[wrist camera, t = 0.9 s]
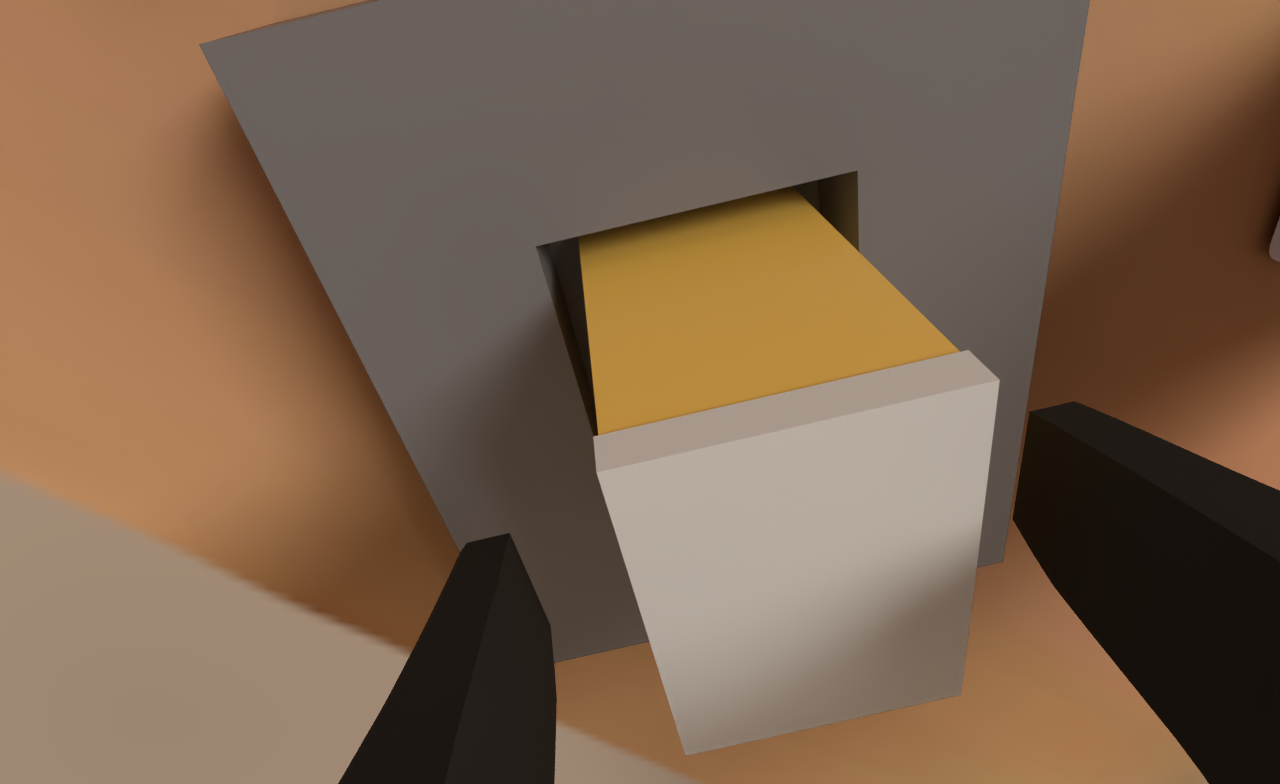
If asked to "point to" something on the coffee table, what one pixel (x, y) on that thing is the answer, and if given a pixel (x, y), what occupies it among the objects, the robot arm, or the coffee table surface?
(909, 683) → the block
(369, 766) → the robot arm
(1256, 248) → the coffee table surface
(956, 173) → the block
